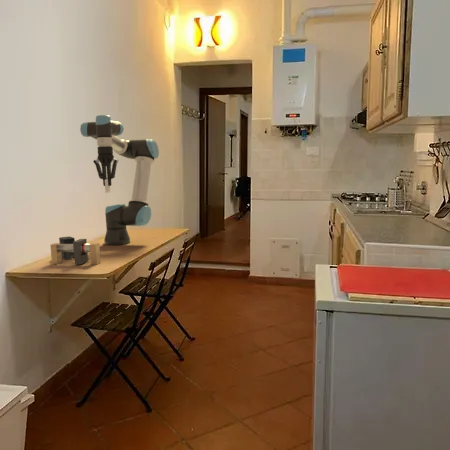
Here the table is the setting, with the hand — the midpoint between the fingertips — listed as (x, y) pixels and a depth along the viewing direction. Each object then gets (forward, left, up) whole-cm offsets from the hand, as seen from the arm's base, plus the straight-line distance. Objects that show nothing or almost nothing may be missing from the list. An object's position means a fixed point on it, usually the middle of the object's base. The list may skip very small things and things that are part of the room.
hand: (107, 192), depth 244 cm
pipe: (+24, -8, -32) cm, 41 cm away
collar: (+24, -5, -26) cm, 36 cm away
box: (+11, -19, -33) cm, 39 cm away
